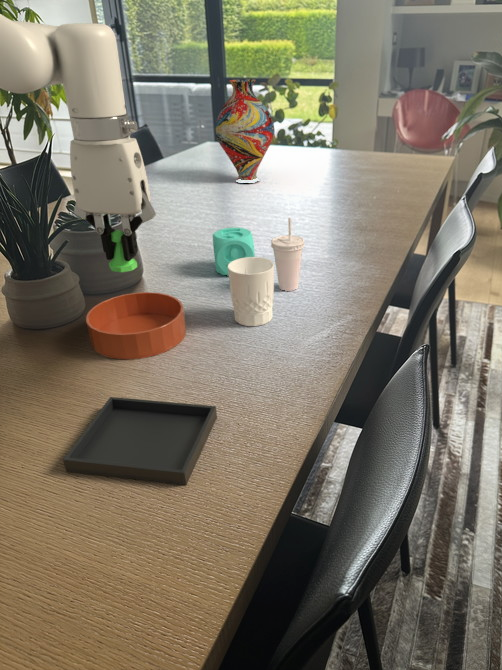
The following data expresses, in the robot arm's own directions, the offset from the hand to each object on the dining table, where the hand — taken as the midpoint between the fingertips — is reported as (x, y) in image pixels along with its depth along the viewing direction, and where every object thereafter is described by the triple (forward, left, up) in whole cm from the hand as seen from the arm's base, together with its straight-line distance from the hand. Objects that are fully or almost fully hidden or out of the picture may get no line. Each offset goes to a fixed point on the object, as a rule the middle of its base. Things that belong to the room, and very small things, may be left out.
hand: (121, 256), depth 85 cm
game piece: (0, 0, -2) cm, 2 cm away
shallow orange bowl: (0, +1, -14) cm, 14 cm away
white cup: (+18, +10, -15) cm, 25 cm away
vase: (-6, +109, -15) cm, 110 cm away
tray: (+12, -26, -14) cm, 32 cm away
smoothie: (+22, +24, -15) cm, 36 cm away
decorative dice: (+9, +32, -15) cm, 36 cm away
